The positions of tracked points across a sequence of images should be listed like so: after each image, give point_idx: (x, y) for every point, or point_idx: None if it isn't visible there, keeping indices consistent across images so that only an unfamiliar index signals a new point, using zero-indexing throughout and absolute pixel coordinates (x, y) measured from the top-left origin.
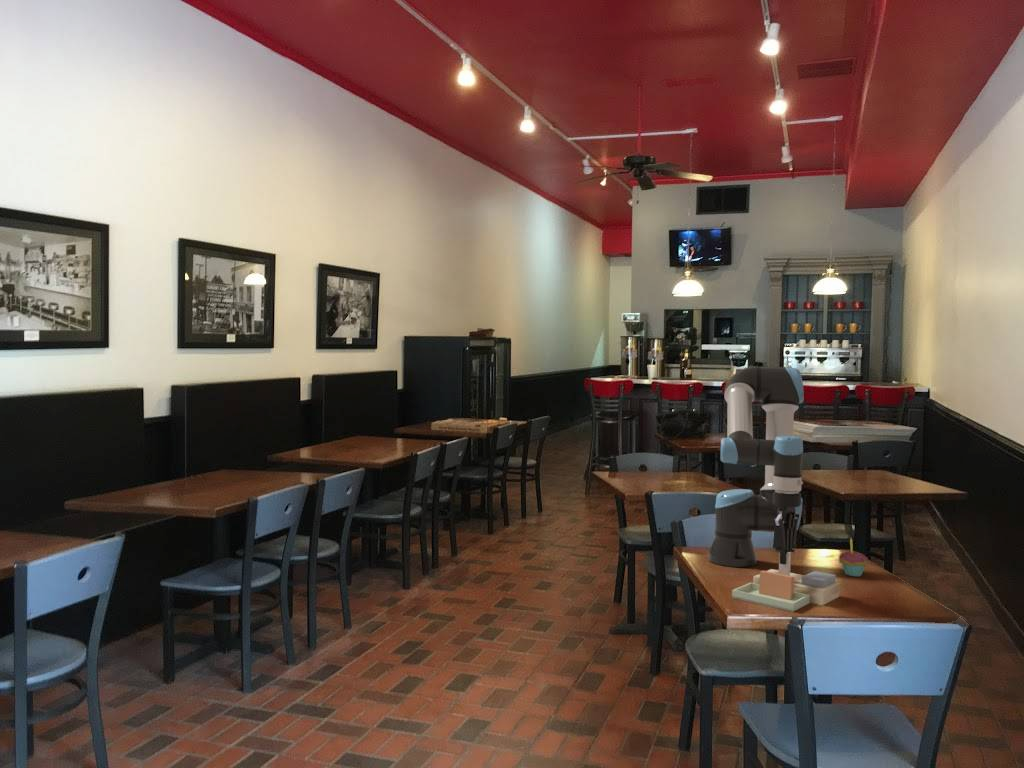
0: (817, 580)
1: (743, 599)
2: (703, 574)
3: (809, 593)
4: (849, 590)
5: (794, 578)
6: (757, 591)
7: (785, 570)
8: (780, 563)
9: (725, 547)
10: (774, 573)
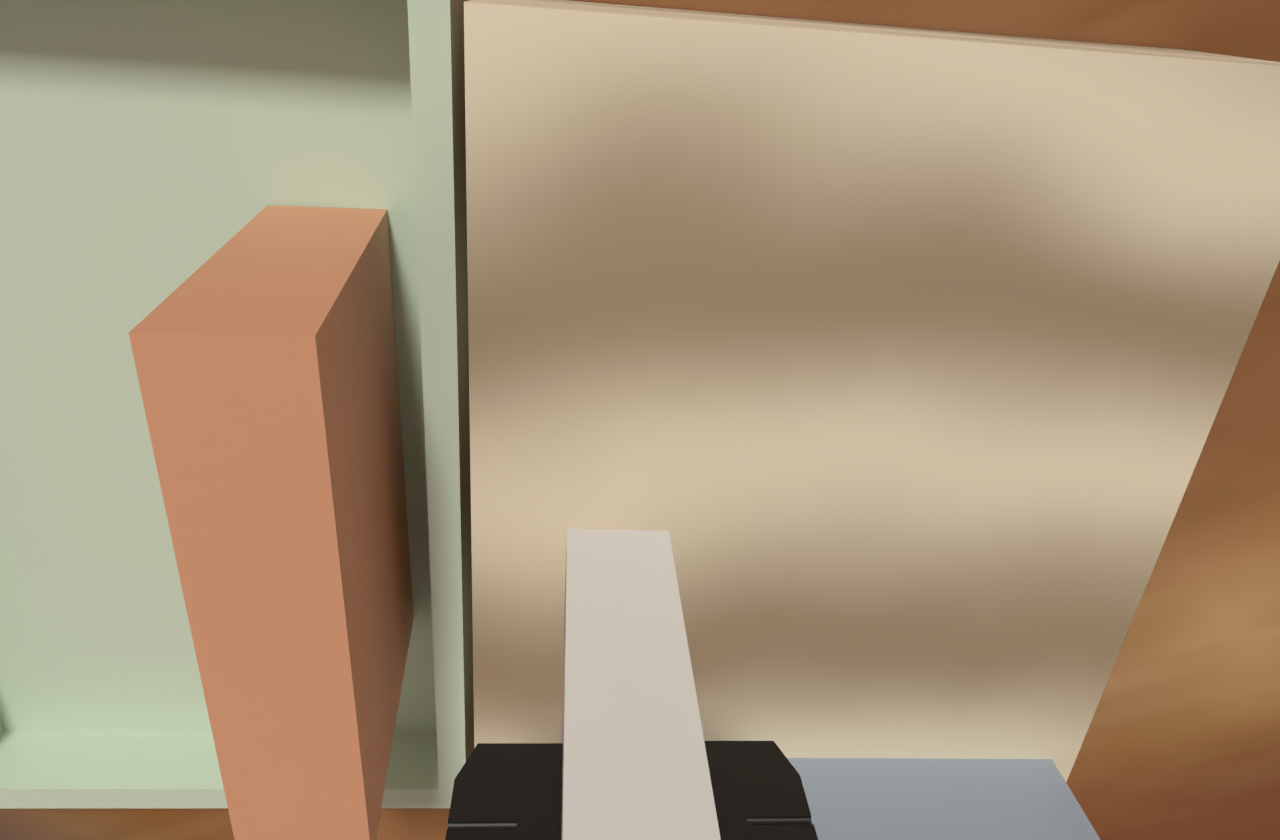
0: None
1: None
2: None
3: None
4: (1223, 819)
5: (843, 608)
6: (351, 144)
7: (561, 708)
8: (471, 764)
9: None
10: (271, 598)
